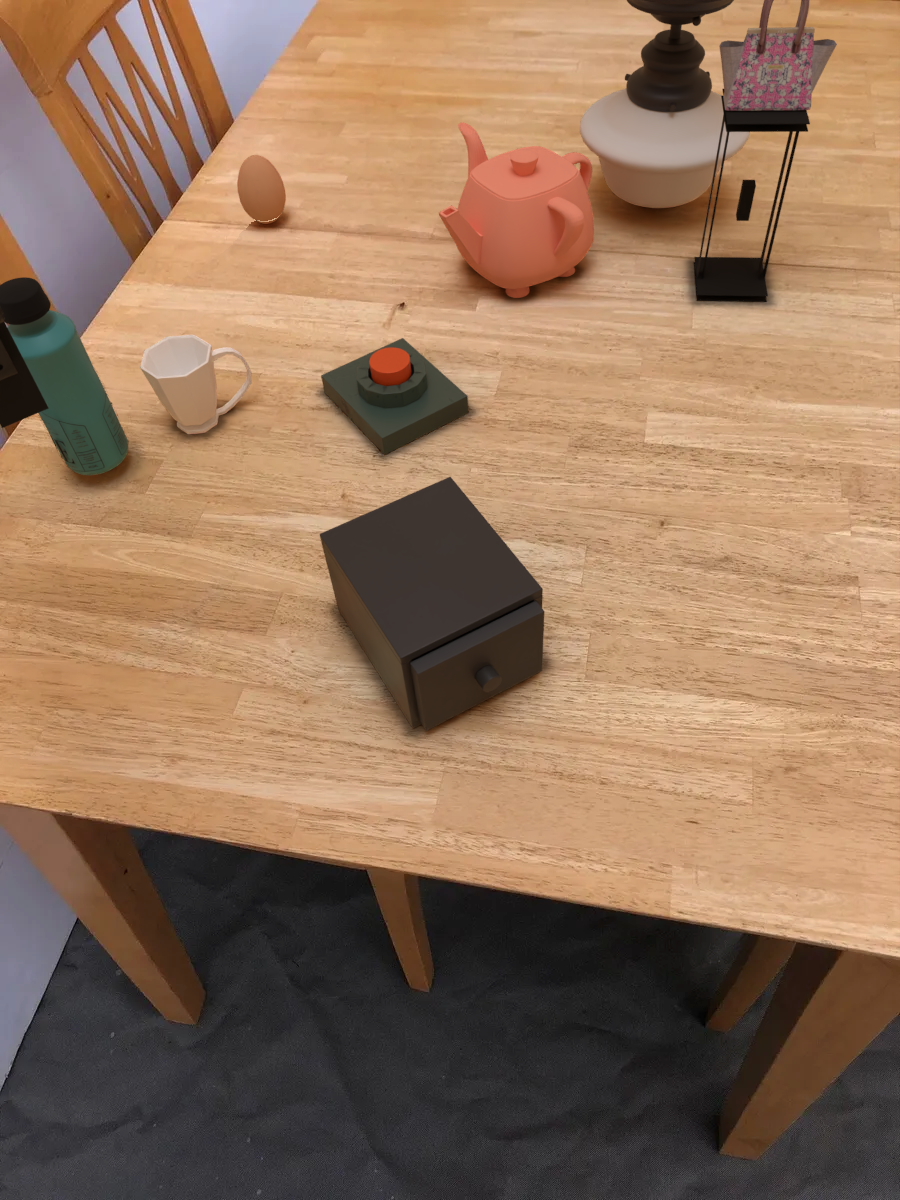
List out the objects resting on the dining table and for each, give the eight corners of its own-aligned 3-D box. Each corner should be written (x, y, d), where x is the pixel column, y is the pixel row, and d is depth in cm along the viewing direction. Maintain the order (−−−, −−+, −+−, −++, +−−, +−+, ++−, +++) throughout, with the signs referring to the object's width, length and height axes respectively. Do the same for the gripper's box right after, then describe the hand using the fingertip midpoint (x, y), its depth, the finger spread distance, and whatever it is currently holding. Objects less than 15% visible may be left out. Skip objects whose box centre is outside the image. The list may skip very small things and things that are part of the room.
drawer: (551, 682, 72) (554, 622, 65) (433, 743, 69) (425, 687, 63) (463, 567, 79) (458, 504, 73) (354, 618, 77) (340, 557, 70)
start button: (364, 372, 92) (361, 357, 91) (397, 356, 93) (395, 342, 92) (385, 392, 90) (382, 378, 89) (419, 376, 91) (417, 361, 90)
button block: (324, 392, 96) (317, 360, 93) (404, 354, 99) (401, 323, 96) (384, 455, 90) (379, 423, 87) (468, 412, 93) (467, 381, 90)
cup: (156, 411, 96) (131, 346, 89) (248, 381, 98) (229, 316, 92) (174, 452, 92) (148, 387, 85) (269, 419, 94) (251, 354, 88)
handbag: (683, 300, 102) (733, -6, 79) (681, 262, 107) (727, -38, 83) (781, 302, 101) (861, -9, 78) (774, 263, 106) (848, -41, 82)
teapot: (443, 305, 104) (435, 190, 94) (463, 225, 115) (457, 113, 104) (587, 310, 102) (595, 193, 92) (594, 228, 112) (602, 114, 102)
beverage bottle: (149, 452, 92) (73, 272, 76) (108, 496, 88) (19, 318, 73) (97, 436, 94) (12, 258, 78) (55, 479, 90) (-43, 301, 75)
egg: (294, 209, 119) (281, 144, 113) (285, 233, 116) (271, 168, 109) (251, 209, 120) (236, 144, 113) (241, 233, 116) (224, 168, 110)
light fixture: (767, 220, 111) (821, -21, 91) (622, 262, 108) (646, 20, 88) (682, 150, 123) (714, -78, 103) (549, 185, 119) (556, -44, 99)
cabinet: (540, 663, 74) (543, 588, 66) (412, 729, 71) (400, 658, 63) (456, 554, 81) (450, 475, 74) (338, 609, 78) (319, 533, 71)
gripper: (-104, -71, 31) (126, 445, 50) (-180, -147, 38) (47, 331, 57) (-344, -12, 29) (-9, 506, 48) (-379, -104, 36) (-75, 379, 55)
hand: (21, 410), depth 52 cm, fingers closed
